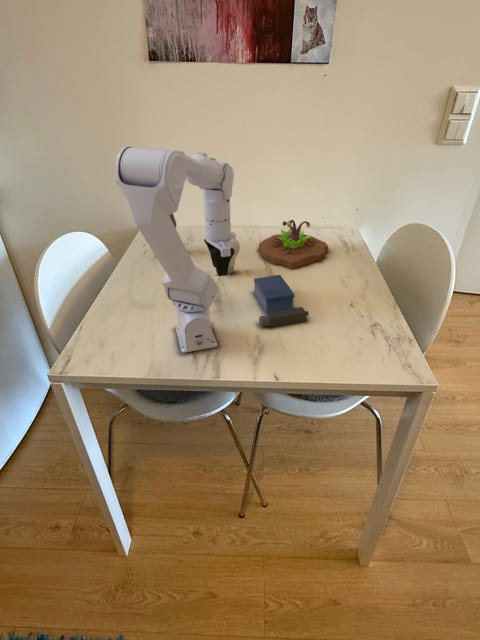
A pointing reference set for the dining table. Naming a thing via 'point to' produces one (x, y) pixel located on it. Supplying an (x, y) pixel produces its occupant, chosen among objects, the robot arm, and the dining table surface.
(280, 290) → the blue box
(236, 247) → the lightbulb
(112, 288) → the dining table surface
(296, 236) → the plant
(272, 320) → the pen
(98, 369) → the dining table surface
